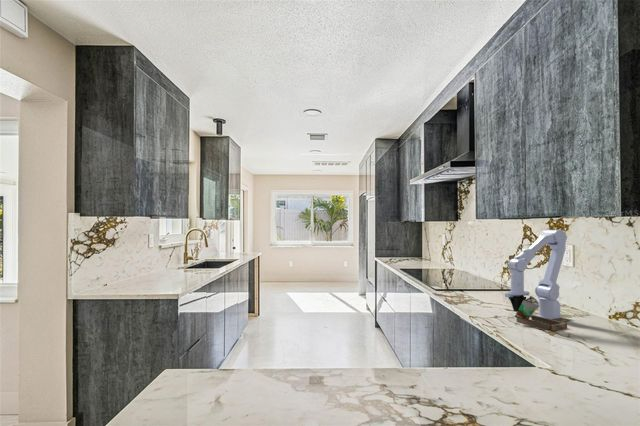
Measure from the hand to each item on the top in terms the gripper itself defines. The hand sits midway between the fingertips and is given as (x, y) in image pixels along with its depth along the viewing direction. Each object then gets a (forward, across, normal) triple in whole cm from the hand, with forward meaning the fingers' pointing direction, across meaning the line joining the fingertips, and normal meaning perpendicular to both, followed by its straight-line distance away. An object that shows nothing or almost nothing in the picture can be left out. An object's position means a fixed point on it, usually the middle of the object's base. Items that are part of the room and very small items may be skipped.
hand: (517, 311), depth 187 cm
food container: (+3, 0, +3) cm, 4 cm away
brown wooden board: (+3, 0, +12) cm, 12 cm away
